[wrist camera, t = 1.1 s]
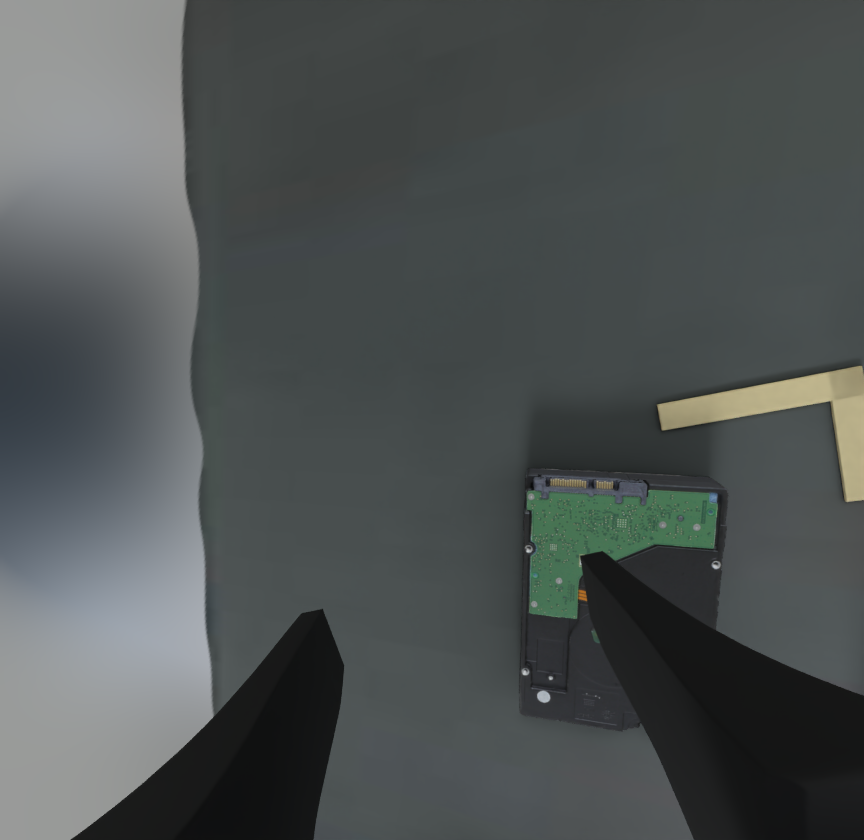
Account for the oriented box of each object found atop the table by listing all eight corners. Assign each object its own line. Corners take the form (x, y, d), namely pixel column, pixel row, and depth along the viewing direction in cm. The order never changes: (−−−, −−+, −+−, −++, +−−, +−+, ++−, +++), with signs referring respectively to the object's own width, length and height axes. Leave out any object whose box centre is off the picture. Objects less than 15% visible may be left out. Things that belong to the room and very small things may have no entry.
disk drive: (693, 708, 28) (711, 472, 25) (710, 747, 25) (732, 486, 23) (519, 685, 30) (522, 465, 28) (518, 718, 27) (521, 478, 25)
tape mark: (877, 496, 24) (880, 497, 24) (678, 522, 26) (679, 524, 26) (859, 365, 23) (862, 365, 23) (656, 404, 26) (657, 404, 25)
